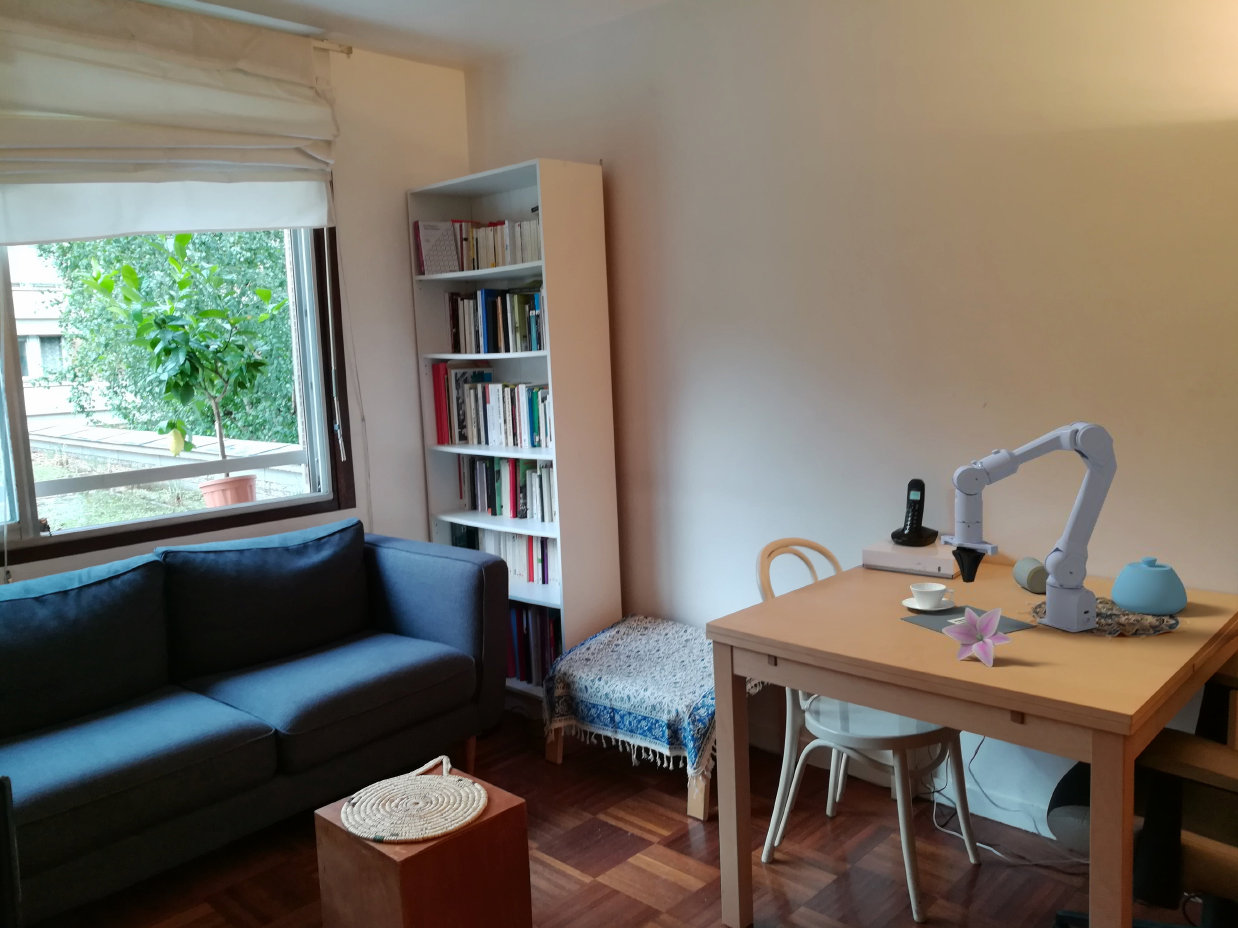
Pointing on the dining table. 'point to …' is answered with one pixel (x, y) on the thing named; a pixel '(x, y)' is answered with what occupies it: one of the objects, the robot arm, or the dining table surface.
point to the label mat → (962, 620)
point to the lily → (978, 635)
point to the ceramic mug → (1031, 574)
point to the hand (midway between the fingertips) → (968, 581)
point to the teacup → (929, 597)
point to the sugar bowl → (1149, 588)
